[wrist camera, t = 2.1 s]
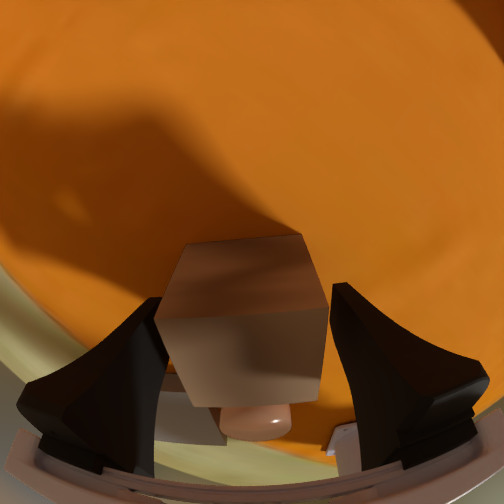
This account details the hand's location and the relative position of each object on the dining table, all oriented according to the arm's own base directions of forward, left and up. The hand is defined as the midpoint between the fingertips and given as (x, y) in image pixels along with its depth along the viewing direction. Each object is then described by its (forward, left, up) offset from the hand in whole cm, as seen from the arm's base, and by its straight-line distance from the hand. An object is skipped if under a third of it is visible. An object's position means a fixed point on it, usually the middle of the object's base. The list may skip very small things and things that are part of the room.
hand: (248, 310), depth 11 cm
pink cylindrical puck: (0, +9, -2) cm, 9 cm away
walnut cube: (0, 0, -2) cm, 2 cm away
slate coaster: (+8, +11, -2) cm, 14 cm away
